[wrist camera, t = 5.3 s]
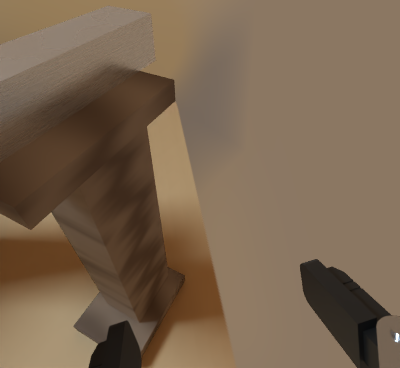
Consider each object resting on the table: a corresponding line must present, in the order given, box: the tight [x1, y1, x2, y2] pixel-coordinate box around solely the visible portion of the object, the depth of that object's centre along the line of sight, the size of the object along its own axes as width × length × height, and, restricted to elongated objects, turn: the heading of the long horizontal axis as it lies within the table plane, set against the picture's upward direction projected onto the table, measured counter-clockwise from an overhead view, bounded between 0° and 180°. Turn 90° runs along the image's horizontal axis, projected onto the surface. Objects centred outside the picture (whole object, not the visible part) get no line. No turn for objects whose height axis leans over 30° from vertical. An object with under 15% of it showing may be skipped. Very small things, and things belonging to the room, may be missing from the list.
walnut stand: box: [0, 71, 185, 357], centre depth 26 cm, size 12×9×30 cm
